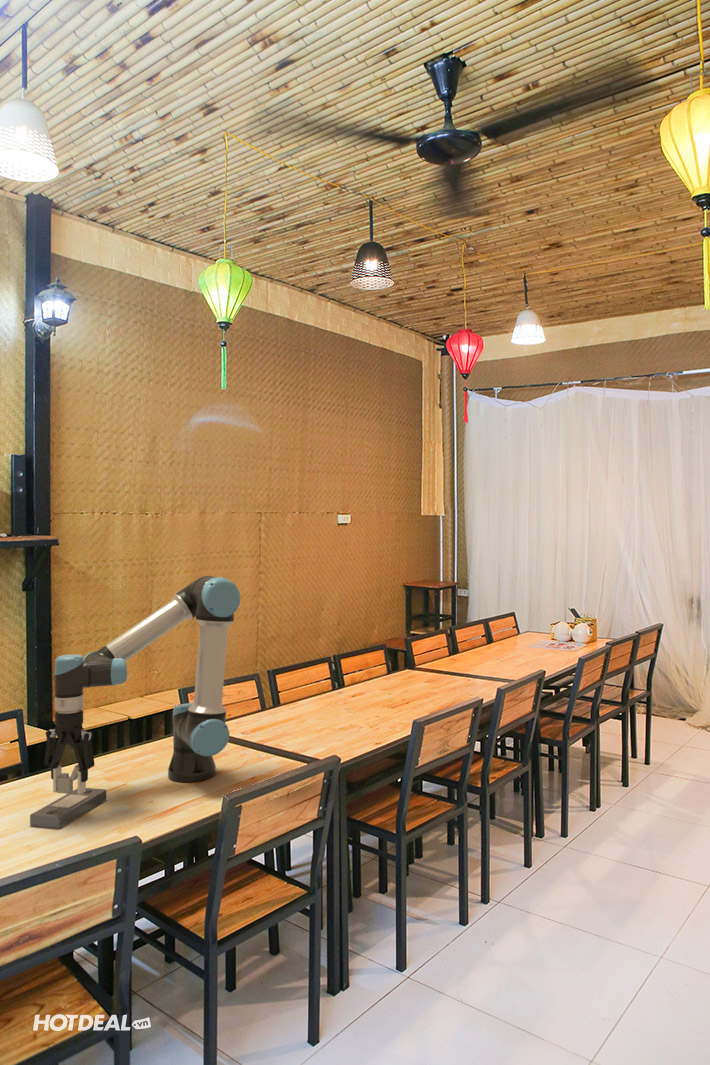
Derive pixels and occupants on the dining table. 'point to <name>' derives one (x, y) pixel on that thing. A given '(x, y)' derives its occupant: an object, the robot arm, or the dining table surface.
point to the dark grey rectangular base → (67, 808)
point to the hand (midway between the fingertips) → (69, 791)
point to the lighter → (67, 781)
